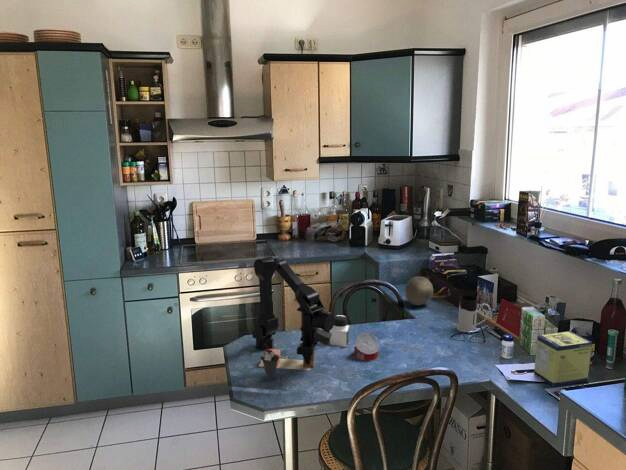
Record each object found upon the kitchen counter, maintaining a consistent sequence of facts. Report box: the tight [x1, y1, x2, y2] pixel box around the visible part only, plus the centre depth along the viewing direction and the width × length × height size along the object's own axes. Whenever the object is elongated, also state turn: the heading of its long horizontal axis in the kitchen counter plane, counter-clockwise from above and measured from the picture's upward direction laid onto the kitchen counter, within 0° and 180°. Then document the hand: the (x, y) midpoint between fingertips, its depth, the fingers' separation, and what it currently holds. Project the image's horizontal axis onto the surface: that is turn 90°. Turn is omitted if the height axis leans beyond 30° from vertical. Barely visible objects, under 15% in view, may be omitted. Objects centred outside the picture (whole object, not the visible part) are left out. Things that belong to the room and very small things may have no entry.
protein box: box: [533, 331, 593, 387], centre depth 188 cm, size 10×16×16 cm
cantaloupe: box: [404, 276, 434, 306], centre depth 265 cm, size 14×14×15 cm
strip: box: [258, 351, 316, 371], centre depth 198 cm, size 21×8×6 cm, turn 81°
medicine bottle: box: [329, 314, 350, 348], centre depth 219 cm, size 7×7×12 cm
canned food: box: [353, 331, 380, 362], centre depth 208 cm, size 11×10×10 cm
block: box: [270, 348, 282, 366], centre depth 199 cm, size 4×4×4 cm
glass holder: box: [456, 294, 491, 333], centre depth 232 cm, size 9×14×15 cm, turn 54°
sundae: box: [260, 344, 279, 382], centre depth 184 cm, size 7×7×15 cm
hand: (309, 362), depth 197 cm, fingers closed on strip, 3 cm apart
